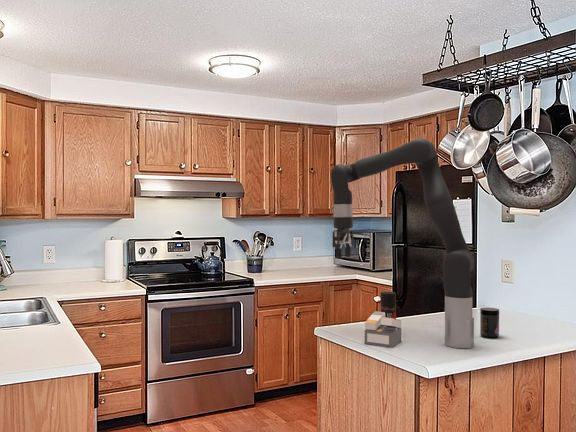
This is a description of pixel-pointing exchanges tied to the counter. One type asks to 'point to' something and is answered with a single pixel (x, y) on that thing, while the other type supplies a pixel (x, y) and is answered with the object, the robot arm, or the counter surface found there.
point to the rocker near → (390, 322)
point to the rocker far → (374, 320)
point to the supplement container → (489, 323)
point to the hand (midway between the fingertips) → (343, 257)
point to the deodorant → (388, 304)
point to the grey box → (383, 336)
